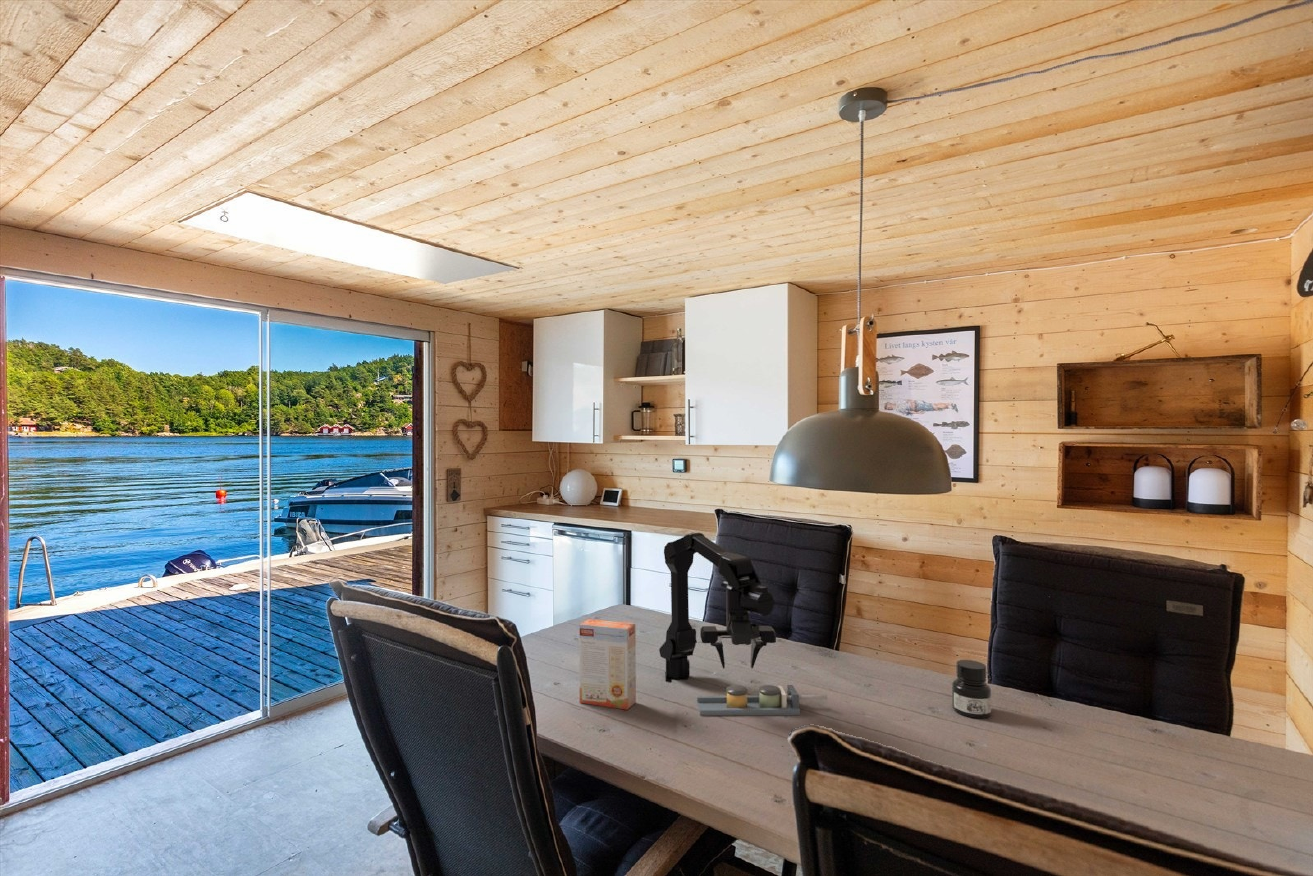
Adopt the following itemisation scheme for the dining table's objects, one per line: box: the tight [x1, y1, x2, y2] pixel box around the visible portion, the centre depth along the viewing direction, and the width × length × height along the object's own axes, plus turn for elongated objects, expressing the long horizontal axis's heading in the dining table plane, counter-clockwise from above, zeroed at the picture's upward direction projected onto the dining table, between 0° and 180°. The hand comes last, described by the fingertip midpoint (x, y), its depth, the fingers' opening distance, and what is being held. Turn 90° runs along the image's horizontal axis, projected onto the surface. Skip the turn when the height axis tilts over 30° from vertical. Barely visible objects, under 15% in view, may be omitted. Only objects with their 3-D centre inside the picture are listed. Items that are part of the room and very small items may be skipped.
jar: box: [726, 684, 748, 708], centre depth 159 cm, size 5×5×5 cm
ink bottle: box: [951, 659, 992, 719], centre depth 158 cm, size 10×9×12 cm
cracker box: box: [578, 618, 637, 711], centre depth 163 cm, size 14×6×21 cm, turn 69°
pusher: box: [777, 685, 828, 708], centre depth 159 cm, size 12×6×4 cm, turn 91°
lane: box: [696, 684, 801, 716], centre depth 159 cm, size 25×9×5 cm, turn 91°
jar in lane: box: [758, 684, 780, 708], centre depth 159 cm, size 5×5×5 cm
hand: (737, 668), depth 158 cm, fingers open, 7 cm apart
